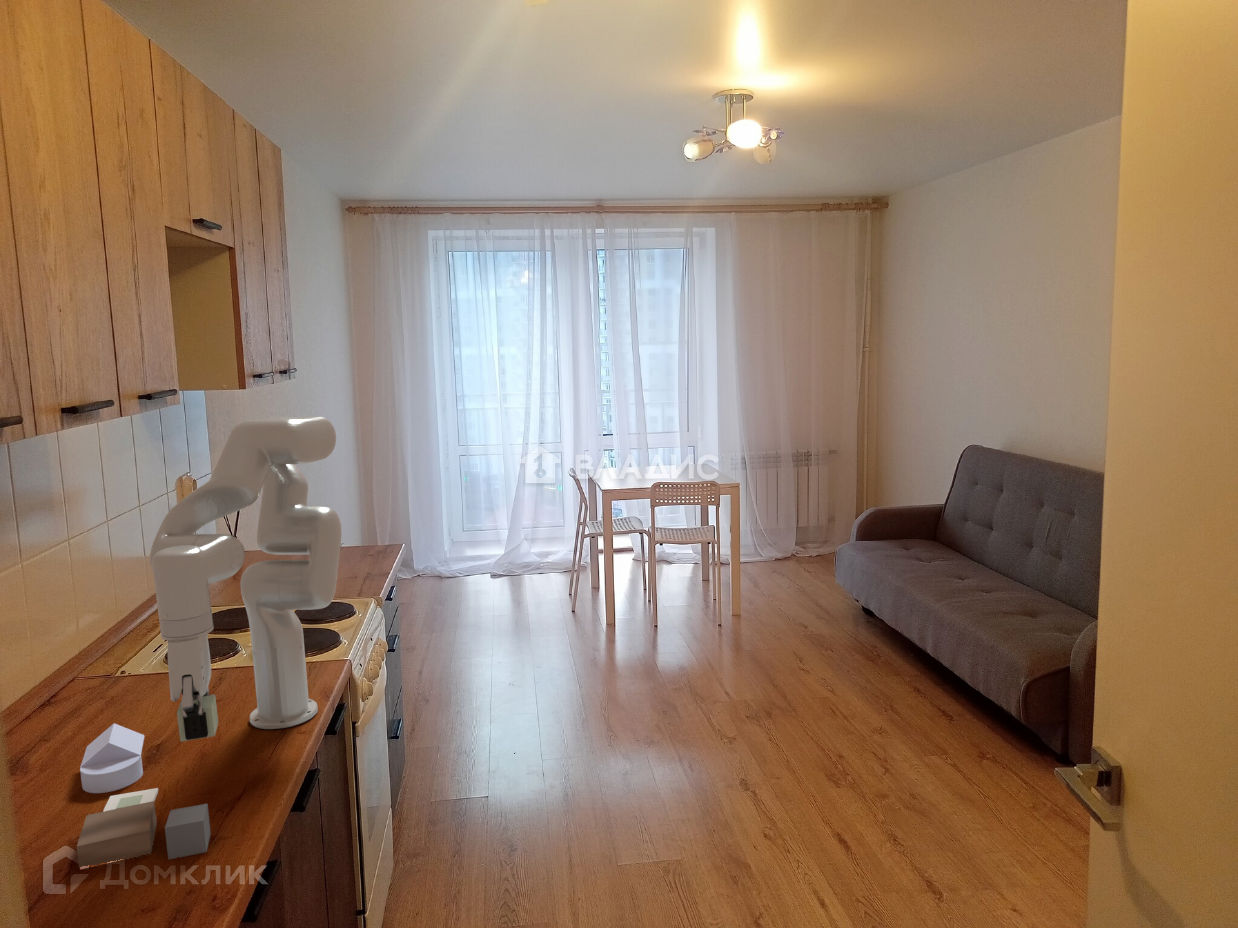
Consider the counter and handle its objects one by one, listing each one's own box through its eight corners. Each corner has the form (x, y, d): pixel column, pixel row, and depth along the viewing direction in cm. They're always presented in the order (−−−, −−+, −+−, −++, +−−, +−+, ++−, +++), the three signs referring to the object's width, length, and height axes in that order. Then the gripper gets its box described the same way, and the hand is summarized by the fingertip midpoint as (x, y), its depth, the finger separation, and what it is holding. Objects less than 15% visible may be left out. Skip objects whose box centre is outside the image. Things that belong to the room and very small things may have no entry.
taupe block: (89, 839, 130) (86, 814, 129) (157, 824, 133) (154, 800, 133) (79, 872, 121) (76, 846, 121) (151, 855, 125) (148, 830, 124)
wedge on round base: (89, 763, 153) (78, 798, 141) (84, 728, 152) (73, 759, 140) (146, 752, 157) (140, 785, 145) (142, 717, 156) (136, 747, 144)
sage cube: (185, 727, 141) (181, 699, 141) (218, 722, 143) (215, 694, 142) (180, 741, 137) (176, 712, 136) (214, 735, 138) (211, 707, 137)
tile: (110, 799, 140) (110, 794, 140) (158, 791, 143) (157, 786, 143) (100, 821, 134) (99, 816, 134) (150, 812, 136) (149, 807, 136)
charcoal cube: (174, 841, 128) (170, 810, 127) (210, 834, 130) (207, 803, 129) (168, 859, 124) (164, 827, 123) (206, 852, 125) (203, 820, 124)
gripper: (169, 609, 143) (182, 711, 147) (150, 645, 128) (164, 758, 131) (218, 603, 146) (230, 704, 149) (205, 638, 130) (218, 749, 133)
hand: (199, 728), depth 140 cm, fingers closed on sage cube, 4 cm apart
